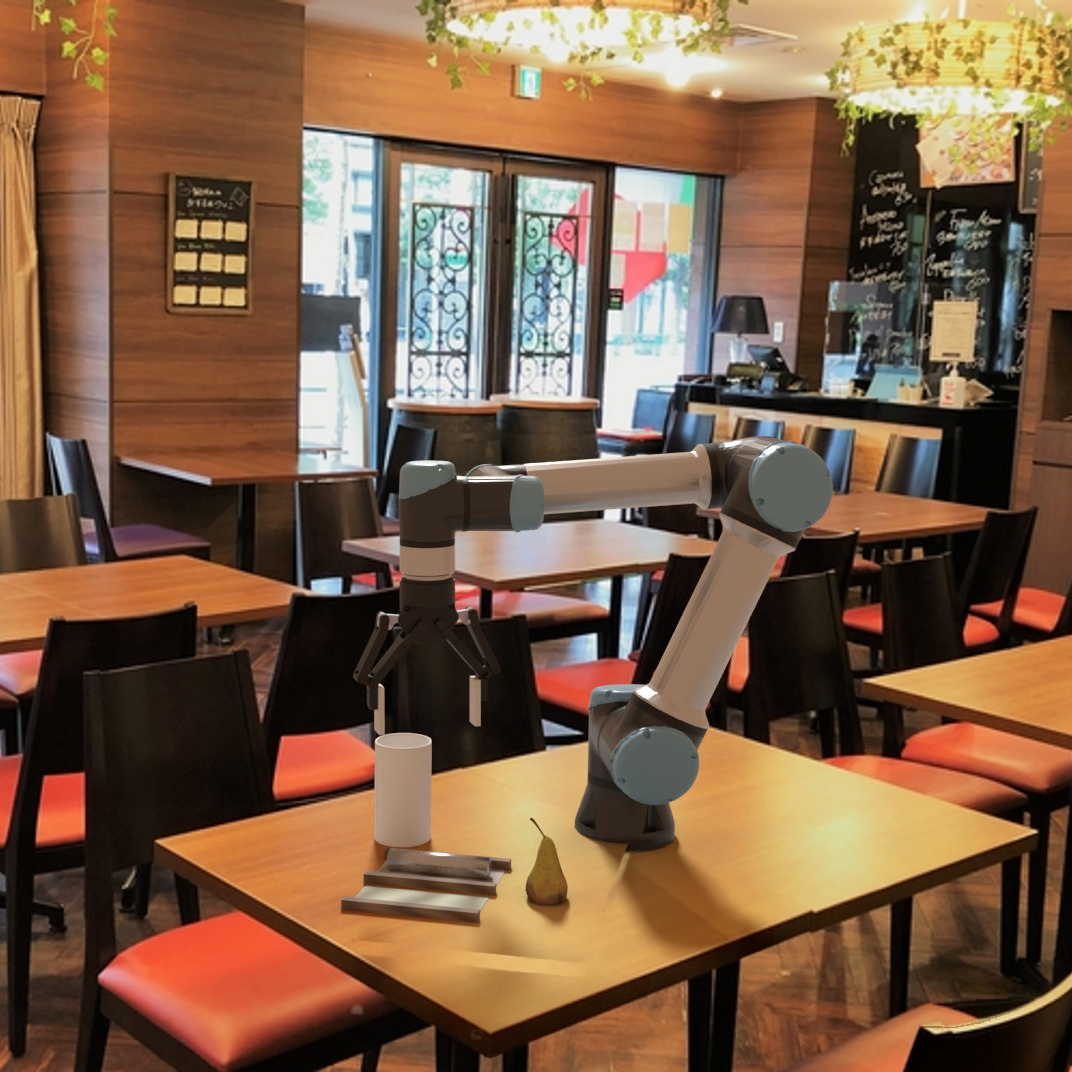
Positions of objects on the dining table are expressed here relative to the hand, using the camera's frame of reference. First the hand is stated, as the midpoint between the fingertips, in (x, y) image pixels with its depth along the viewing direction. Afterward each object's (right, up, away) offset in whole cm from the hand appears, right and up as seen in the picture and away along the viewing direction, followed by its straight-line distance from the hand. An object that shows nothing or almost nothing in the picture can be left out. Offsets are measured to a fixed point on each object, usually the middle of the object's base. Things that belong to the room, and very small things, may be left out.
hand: (427, 728), depth 206 cm
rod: (+2, -20, 0) cm, 20 cm away
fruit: (+16, -23, -8) cm, 29 cm away
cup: (-5, -19, +14) cm, 24 cm away
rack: (+1, -22, -5) cm, 23 cm away
